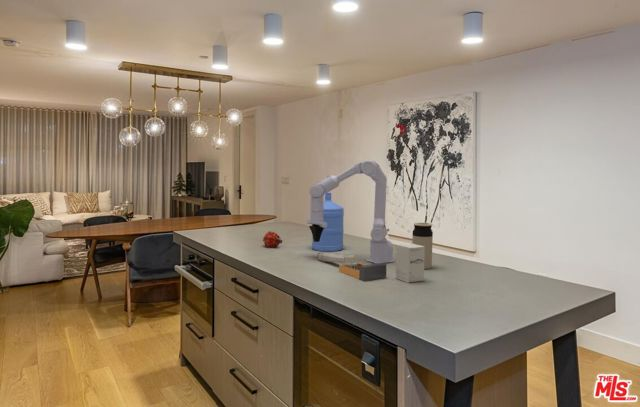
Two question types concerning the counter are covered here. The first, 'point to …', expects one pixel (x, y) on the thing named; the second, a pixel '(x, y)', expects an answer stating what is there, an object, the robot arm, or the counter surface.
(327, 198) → the water jug
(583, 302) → the counter surface
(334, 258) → the electric toothbrush
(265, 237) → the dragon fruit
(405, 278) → the supplement box
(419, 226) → the travel mug
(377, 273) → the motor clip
